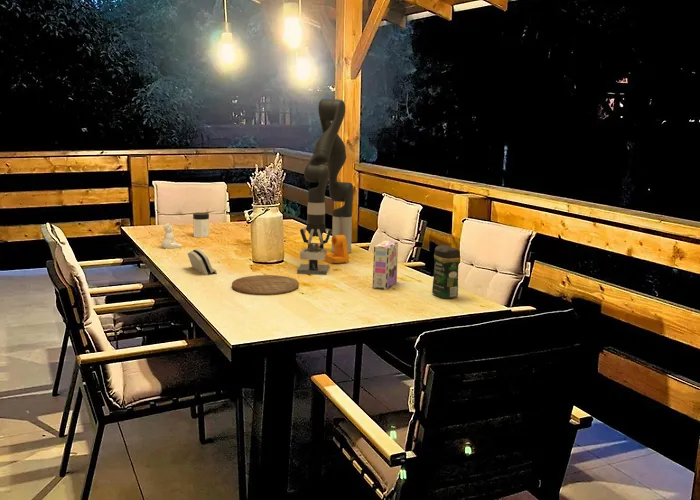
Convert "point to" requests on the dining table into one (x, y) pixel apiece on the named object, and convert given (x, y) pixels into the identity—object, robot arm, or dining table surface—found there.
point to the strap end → (313, 254)
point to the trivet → (265, 285)
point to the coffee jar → (446, 271)
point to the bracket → (338, 250)
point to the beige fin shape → (200, 262)
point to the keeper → (313, 264)
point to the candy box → (385, 264)
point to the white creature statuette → (169, 238)
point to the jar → (201, 224)
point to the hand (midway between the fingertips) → (315, 252)
